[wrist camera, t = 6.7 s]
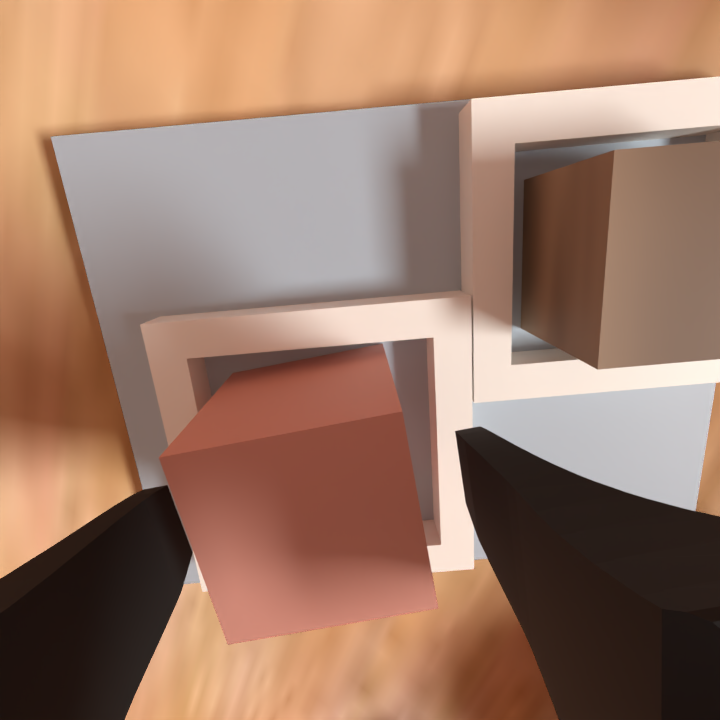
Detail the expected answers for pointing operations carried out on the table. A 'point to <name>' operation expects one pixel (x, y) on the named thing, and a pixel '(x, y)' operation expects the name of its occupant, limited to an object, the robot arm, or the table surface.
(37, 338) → the table surface
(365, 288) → the board
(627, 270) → the walnut cube
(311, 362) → the brick-red block
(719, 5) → the table surface
